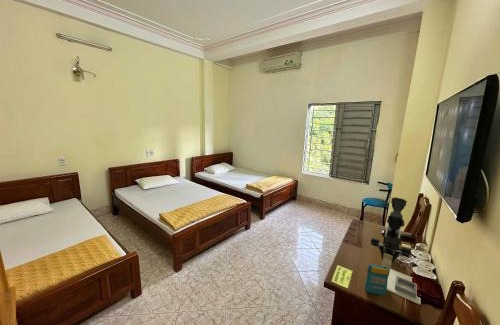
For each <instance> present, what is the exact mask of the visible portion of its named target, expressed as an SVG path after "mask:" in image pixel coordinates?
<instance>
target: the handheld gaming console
mask: <svg viewBox="0 0 500 325" xmlns="http://www.w3.org/2000/svg"><path fill="white" fill-rule="evenodd" d="M390 269H391V268H390ZM390 269H389V268H388V267H385V266H382V265H379V264H372V263H369V264H368V266H367V270H366V271H367V273H366V277H365V278H366V279H365V284H364V290H365V291H366V292H367V293H369V294H374V295H379V296H383V297H384V296H385V295H386V293H387V291H388V290H387V281H388V275H389V271H390Z"/></svg>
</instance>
